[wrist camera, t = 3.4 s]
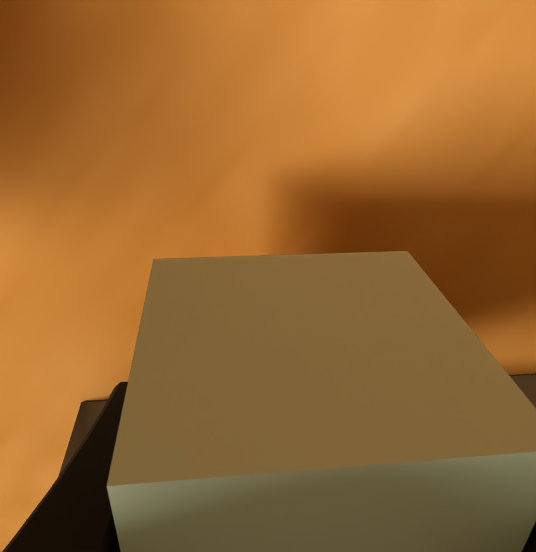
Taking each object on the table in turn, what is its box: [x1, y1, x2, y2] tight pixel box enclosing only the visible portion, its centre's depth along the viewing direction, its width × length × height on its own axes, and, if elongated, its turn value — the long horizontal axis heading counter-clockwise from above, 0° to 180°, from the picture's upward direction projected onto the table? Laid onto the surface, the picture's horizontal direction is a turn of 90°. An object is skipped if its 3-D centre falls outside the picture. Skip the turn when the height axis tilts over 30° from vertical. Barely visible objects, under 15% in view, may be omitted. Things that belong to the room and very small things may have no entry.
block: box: [107, 251, 536, 552], centre depth 9 cm, size 5×5×5 cm
